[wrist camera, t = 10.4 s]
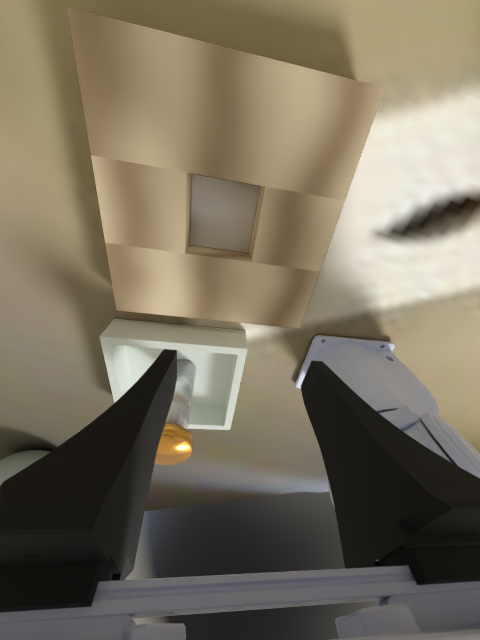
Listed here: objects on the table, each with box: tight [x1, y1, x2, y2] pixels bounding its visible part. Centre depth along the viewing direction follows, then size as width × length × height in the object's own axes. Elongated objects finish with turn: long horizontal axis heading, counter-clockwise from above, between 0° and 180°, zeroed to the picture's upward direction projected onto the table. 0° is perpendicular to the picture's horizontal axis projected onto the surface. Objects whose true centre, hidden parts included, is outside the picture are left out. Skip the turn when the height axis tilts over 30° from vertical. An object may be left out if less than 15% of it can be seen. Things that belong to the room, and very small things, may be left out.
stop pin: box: [154, 359, 196, 465], centre depth 21 cm, size 4×4×9 cm
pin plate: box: [67, 7, 385, 329], centre depth 16 cm, size 16×16×2 cm
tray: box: [99, 318, 248, 430], centre depth 24 cm, size 13×13×3 cm
